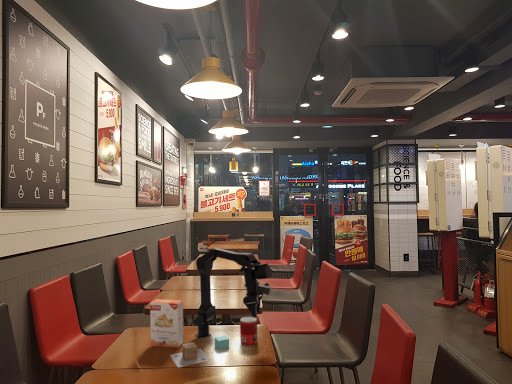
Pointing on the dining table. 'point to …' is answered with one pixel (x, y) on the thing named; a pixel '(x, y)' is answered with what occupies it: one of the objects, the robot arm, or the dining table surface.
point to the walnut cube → (189, 351)
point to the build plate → (181, 361)
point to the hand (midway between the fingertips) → (257, 315)
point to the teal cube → (221, 342)
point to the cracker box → (166, 323)
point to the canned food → (248, 330)
